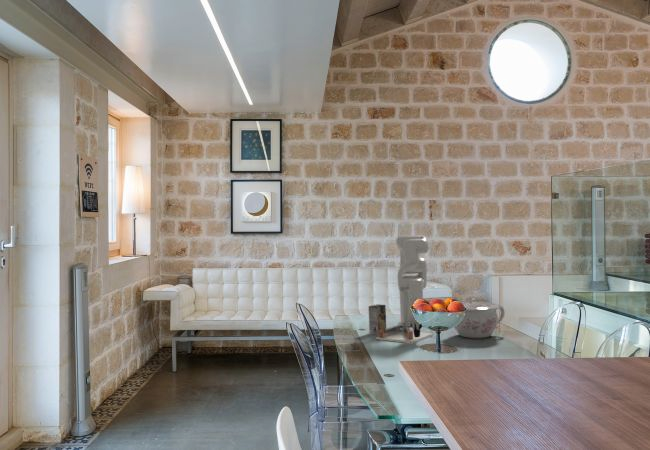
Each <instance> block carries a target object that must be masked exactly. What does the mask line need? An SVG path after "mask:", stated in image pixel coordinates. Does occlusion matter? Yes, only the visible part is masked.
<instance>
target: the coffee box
mask: <svg viewBox="0 0 650 450" xmlns="http://www.w3.org/2000/svg"><path fill="white" fill-rule="evenodd" d="M386 308H387V307H386V304H373V305H369V306H368V326H369V327H368V329H369V331H368V332H369V334H370V335H377V334H378V335H377V336H379V330H380V329H387V312H386V311H387V309H386Z"/></svg>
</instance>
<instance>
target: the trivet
mask: <svg viewBox="0 0 650 450" xmlns="http://www.w3.org/2000/svg"><path fill="white" fill-rule="evenodd" d="M430 337H434V334H433V333H430V332H429V333H428V332H421V331H420V337H414V331H413V339H408V338H407V336H406V335H405V333H404V332H398V333H395V334H392V335H389V336H386V337H384V338H382V337H379V336H376V340H377V339H379V341H385V340H387V342H394V341H395V342H396V343H402V342H403V344H416V343H417V342H420V341H423V340H425V339H428V338H430Z"/></svg>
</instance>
